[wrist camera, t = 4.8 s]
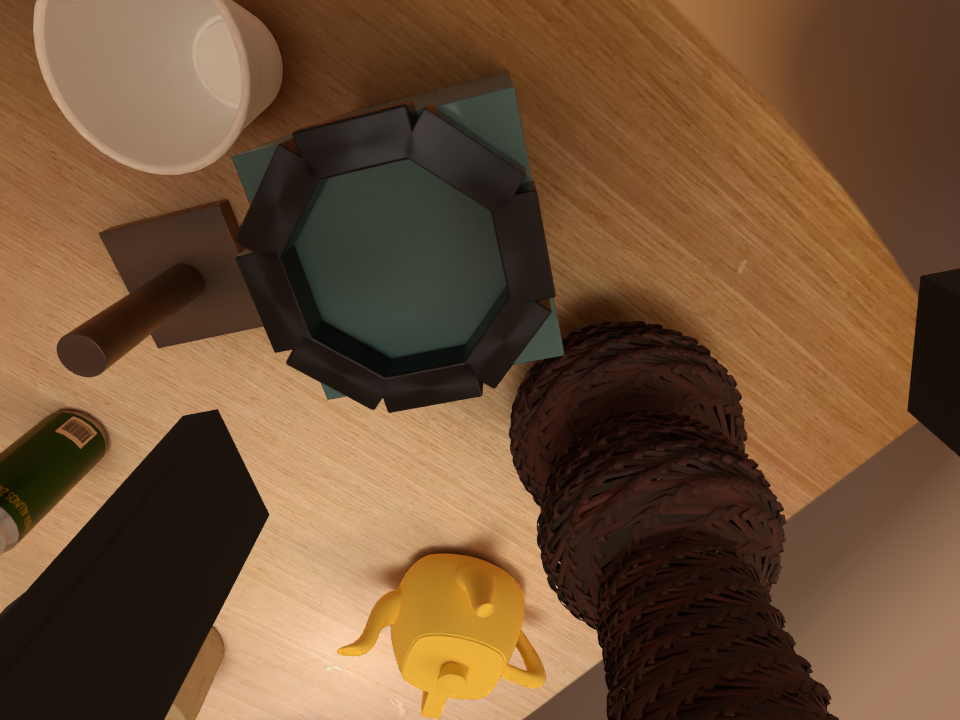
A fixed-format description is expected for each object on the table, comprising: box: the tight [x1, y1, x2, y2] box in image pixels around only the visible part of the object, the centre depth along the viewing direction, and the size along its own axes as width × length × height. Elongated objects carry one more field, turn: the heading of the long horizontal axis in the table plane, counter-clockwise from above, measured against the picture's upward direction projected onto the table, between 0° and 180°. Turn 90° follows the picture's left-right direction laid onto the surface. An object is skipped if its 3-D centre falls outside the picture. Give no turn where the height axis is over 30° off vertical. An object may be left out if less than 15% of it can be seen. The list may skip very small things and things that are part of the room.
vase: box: [509, 321, 839, 720], centre depth 34 cm, size 15×15×30 cm
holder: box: [57, 200, 263, 377], centre depth 38 cm, size 9×9×14 cm
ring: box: [235, 101, 556, 413], centre depth 22 cm, size 11×11×2 cm
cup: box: [33, 0, 283, 175], centre depth 33 cm, size 10×10×11 cm
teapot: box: [337, 553, 546, 719], centre depth 53 cm, size 14×13×10 cm
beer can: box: [0, 410, 107, 556], centre depth 46 cm, size 5×5×12 cm
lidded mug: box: [165, 627, 224, 720], centre depth 55 cm, size 15×11×15 cm
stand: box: [232, 71, 564, 400], centre depth 31 cm, size 10×10×20 cm
